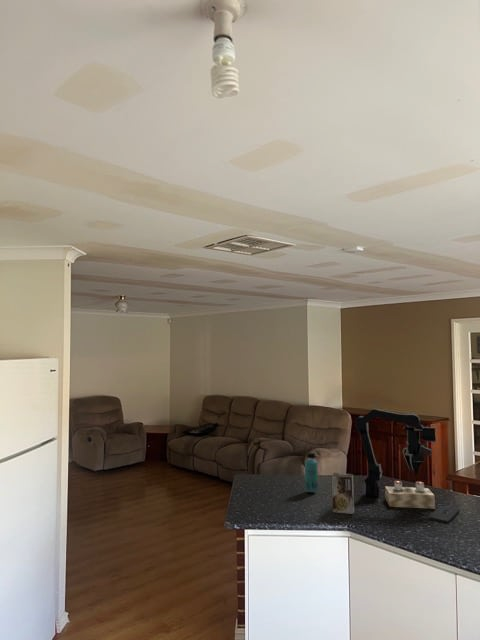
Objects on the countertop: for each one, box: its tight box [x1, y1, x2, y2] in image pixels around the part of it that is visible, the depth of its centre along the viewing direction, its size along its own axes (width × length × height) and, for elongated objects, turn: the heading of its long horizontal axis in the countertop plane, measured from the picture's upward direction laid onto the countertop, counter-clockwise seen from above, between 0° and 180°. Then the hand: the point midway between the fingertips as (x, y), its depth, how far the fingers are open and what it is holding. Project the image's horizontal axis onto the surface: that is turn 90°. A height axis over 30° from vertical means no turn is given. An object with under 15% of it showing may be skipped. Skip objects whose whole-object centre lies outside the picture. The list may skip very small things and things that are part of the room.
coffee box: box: [331, 472, 355, 515], centre depth 211 cm, size 9×6×16 cm
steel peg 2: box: [415, 481, 425, 493], centre depth 222 cm, size 4×4×6 cm
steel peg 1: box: [393, 480, 403, 492], centre depth 223 cm, size 4×4×6 cm
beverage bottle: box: [304, 452, 318, 492], centre depth 240 cm, size 6×7×20 cm
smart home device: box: [428, 505, 460, 524], centre depth 205 cm, size 8×2×20 cm
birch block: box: [384, 485, 436, 510], centre depth 222 cm, size 20×12×6 cm, turn 82°
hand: (413, 472), depth 228 cm, fingers open, 9 cm apart
